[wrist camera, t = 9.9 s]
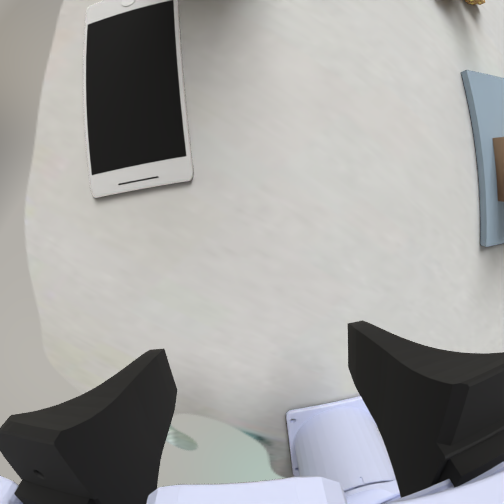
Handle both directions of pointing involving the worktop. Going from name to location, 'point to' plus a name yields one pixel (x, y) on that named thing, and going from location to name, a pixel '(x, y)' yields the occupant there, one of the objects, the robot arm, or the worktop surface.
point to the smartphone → (134, 96)
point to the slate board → (487, 148)
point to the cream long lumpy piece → (475, 2)
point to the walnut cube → (499, 165)
